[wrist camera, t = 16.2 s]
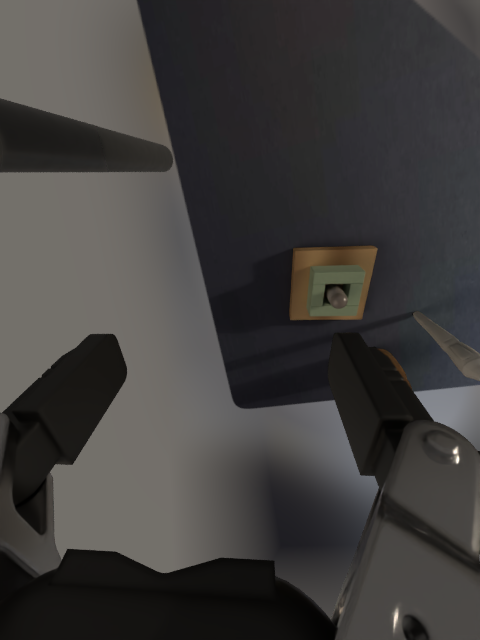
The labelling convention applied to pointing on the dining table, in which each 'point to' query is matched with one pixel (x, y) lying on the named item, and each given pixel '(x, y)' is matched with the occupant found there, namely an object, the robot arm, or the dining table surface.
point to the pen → (453, 347)
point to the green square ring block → (334, 275)
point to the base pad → (327, 260)
